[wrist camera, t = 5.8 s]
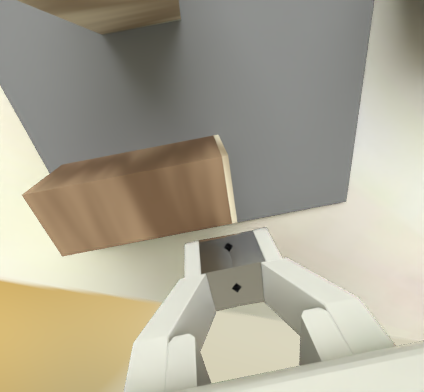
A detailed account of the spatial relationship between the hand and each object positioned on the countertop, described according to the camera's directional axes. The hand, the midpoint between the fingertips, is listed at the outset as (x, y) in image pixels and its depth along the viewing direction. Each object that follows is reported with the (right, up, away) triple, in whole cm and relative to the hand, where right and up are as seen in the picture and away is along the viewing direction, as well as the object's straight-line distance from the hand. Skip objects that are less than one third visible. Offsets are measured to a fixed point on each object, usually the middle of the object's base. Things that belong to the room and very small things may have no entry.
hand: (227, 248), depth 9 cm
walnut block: (0, +3, +5) cm, 6 cm away
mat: (-2, +8, +5) cm, 9 cm away
